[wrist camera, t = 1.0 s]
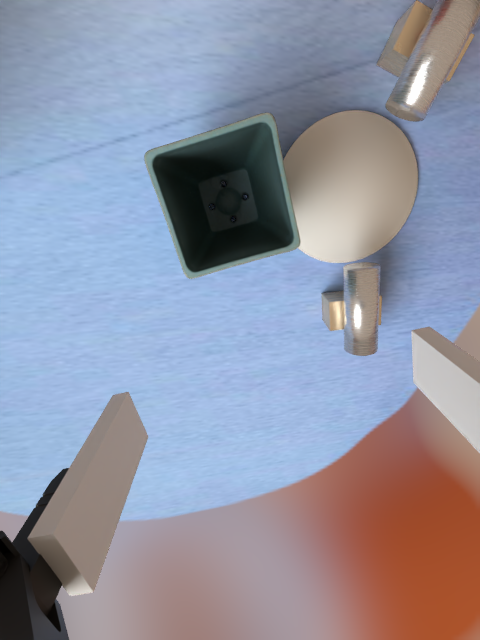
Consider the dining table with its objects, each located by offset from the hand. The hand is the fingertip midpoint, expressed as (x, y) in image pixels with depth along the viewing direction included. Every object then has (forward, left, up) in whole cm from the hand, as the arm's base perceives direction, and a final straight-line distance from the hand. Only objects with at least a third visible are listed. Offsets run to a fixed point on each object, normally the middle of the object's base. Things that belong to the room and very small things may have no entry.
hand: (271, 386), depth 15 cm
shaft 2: (-7, +21, -19) cm, 29 cm away
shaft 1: (+7, +7, -19) cm, 22 cm away
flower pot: (-8, +3, -20) cm, 21 cm away
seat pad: (-2, +12, -19) cm, 23 cm away
